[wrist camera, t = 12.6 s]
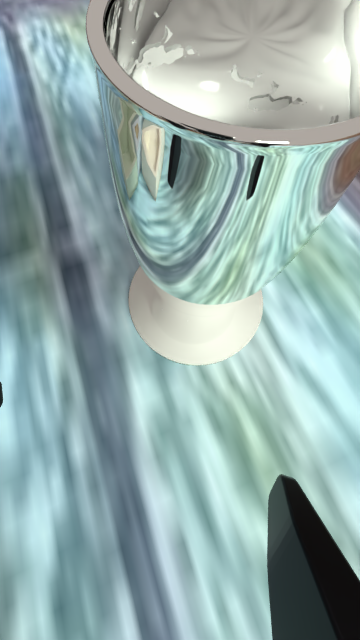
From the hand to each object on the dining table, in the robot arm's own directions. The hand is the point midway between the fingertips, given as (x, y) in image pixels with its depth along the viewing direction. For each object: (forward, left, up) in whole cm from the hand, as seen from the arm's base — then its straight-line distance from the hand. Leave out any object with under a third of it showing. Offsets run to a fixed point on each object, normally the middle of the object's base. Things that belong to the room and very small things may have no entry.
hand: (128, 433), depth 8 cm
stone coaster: (+8, +4, -10) cm, 13 cm away
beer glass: (+8, +4, -9) cm, 13 cm away
